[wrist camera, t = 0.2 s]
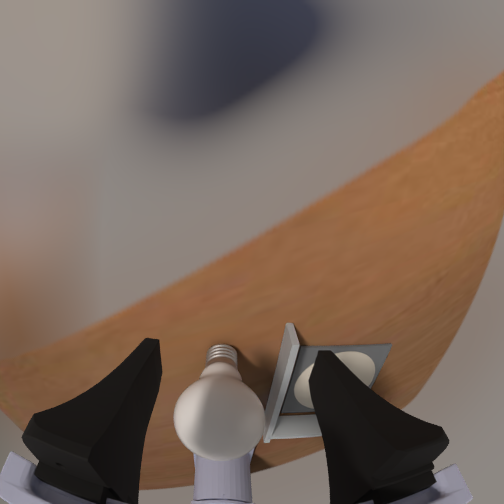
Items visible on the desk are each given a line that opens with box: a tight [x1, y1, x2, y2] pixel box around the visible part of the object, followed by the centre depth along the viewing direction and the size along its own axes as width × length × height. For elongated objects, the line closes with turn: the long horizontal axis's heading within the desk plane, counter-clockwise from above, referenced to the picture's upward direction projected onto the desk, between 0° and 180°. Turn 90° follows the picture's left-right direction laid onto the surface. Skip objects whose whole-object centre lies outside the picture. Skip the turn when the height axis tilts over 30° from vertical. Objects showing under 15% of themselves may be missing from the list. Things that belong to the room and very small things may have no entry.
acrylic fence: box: [263, 323, 322, 443], centre depth 25 cm, size 15×12×3 cm
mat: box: [281, 343, 392, 413], centre depth 26 cm, size 10×10×1 cm
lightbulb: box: [174, 344, 266, 461], centre depth 19 cm, size 6×6×11 cm
